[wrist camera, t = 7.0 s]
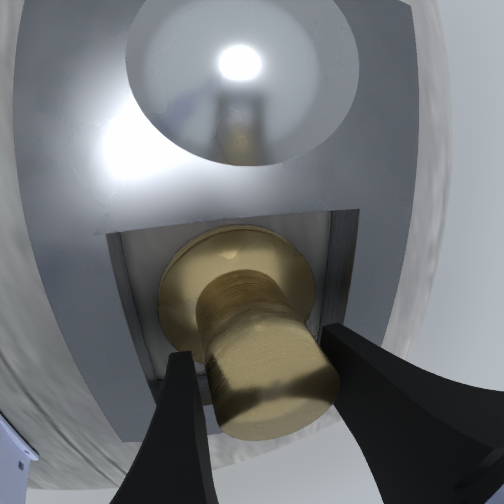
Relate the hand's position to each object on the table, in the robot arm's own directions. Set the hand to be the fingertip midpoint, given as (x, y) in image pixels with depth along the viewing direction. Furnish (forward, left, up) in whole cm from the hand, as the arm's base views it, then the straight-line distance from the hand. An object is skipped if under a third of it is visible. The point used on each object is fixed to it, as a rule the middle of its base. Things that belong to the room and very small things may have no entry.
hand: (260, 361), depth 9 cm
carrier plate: (+3, 0, -4) cm, 5 cm away
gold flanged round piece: (0, 0, -4) cm, 4 cm away
